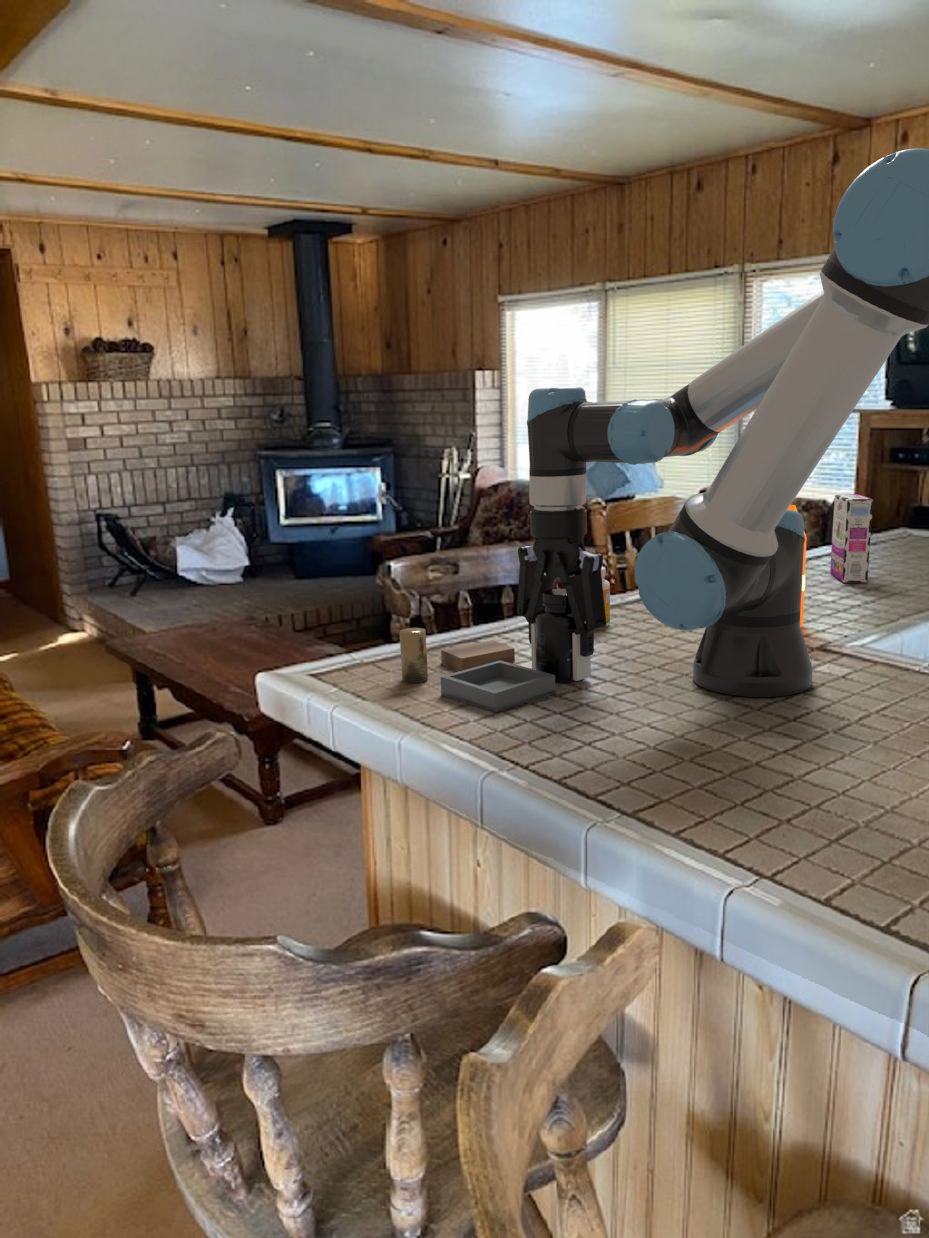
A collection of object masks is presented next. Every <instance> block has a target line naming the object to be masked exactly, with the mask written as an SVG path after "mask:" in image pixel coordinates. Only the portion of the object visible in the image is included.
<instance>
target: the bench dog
mask: <svg viewBox="0 0 929 1238" xmlns="http://www.w3.org/2000/svg"><path fill="white" fill-rule="evenodd" d="M426 633H427V632H426V629H425V628H421V627H407V628H404V629H401V630H399V647H400V664H401V681H402V682H403V683H405V684H420V683H425V682H427V681H428V680H429V675H428V674H429V671H428V653H427V652H428V651H427V634H426Z"/></svg>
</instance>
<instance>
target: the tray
mask: <svg viewBox="0 0 929 1238" xmlns="http://www.w3.org/2000/svg"><path fill="white" fill-rule="evenodd" d="M440 690H441V691H440V693H441V696H444V697H447V698H450V699H453V700H455V701H457V702H458V701H459V702H462V703H464V704H465V703H466V704H468V705H471V706H474V707H477V708H480V709H482V710H486V711H489V712H492V713H498V712H502V711H505V710H508V709H511V708H514V707H518V706H521V705H523V704H527V703H530V702H533V701H536V700H540V699H542V698H545V697H549V696H551V695H554V694H556V682H555V675H553V674H549V673H545V672H542V671H538V670H535V669H532V667H526V666H523V665H518V664H517V663H516V664H515V663H513V662H512V663H508V662H505V661H501V660H499V661H496V662H492V663H489V664H485V665H481V666H478V667H474V668H470V669H467V670H463V671H457V672H453V673H449V674H446V675H441V676H440Z"/></svg>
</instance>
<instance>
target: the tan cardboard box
mask: <svg viewBox="0 0 929 1238" xmlns="http://www.w3.org/2000/svg"><path fill="white" fill-rule="evenodd" d="M515 650H516V649H515V647H513V646H509V645H507V644H504V643H502V642H498V641H496V640H485V641H481V642H476V643H471V644H466V645H460V646H454V647H450V648H443V649H440V653H441V654H440V656H441V657H440V658H441V659H440V660H441V665H444V666H446V667H448V668H451V669H453V670H455V671H457V672H459V671H463V670H467V669H470V668H474V667H478V666H481V665H485V664H489V663H492V662H496V661H499V660H501V661H505V662H508V663H512V664H513V663H515V662H516V660H515V659H516V657H515V656H516V654H515V652H516V651H515Z"/></svg>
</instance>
